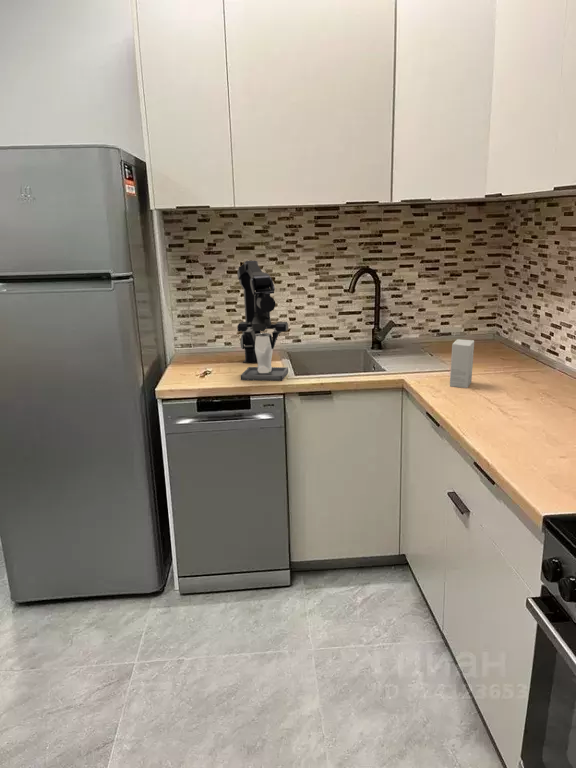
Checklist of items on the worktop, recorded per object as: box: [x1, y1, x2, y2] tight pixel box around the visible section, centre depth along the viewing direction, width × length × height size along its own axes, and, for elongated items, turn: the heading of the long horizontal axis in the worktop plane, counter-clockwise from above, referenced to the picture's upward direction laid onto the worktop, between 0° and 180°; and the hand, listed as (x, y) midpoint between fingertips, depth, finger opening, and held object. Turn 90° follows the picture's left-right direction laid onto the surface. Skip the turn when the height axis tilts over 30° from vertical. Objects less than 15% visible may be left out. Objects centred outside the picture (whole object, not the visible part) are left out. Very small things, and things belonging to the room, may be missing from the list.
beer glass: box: [255, 332, 274, 375], centre depth 227 cm, size 7×7×15 cm
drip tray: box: [240, 366, 289, 382], centre depth 229 cm, size 13×16×2 cm
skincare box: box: [449, 338, 475, 389], centre depth 207 cm, size 8×7×16 cm
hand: (263, 348), depth 226 cm, fingers open, 7 cm apart
